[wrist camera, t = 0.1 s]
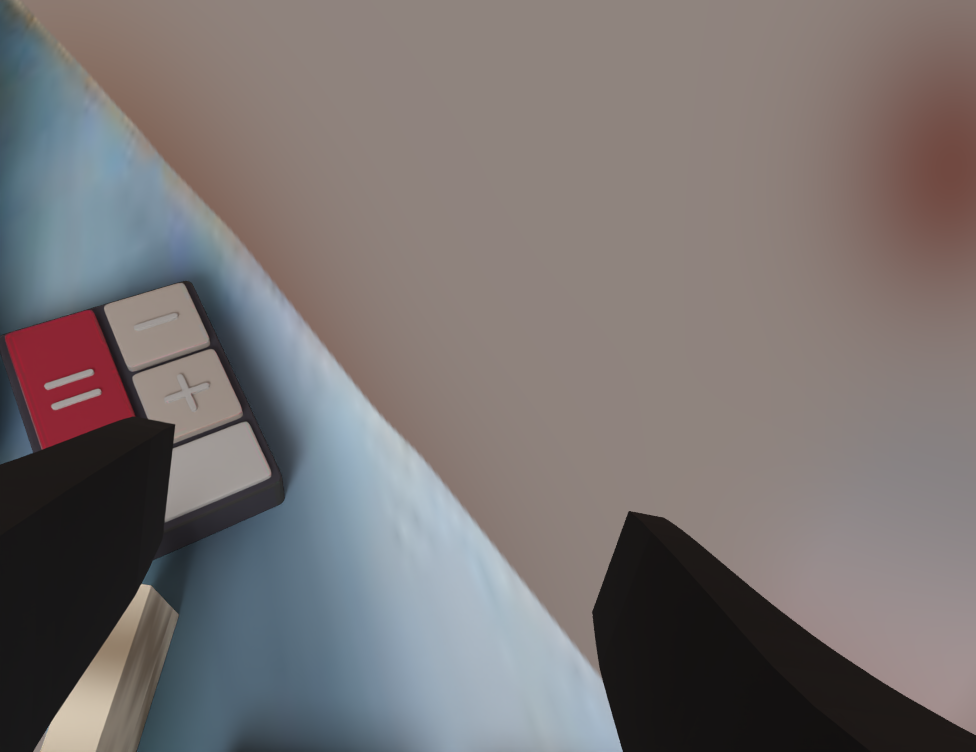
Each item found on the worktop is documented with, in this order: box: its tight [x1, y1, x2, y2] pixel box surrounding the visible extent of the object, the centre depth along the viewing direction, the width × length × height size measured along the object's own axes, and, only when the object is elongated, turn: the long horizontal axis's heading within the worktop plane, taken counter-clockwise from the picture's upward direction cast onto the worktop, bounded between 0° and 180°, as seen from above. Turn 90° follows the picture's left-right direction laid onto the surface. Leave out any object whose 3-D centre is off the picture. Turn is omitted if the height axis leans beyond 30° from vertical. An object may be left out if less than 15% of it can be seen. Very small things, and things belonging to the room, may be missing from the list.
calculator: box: [0, 281, 284, 560], centre depth 42 cm, size 11×4×15 cm
